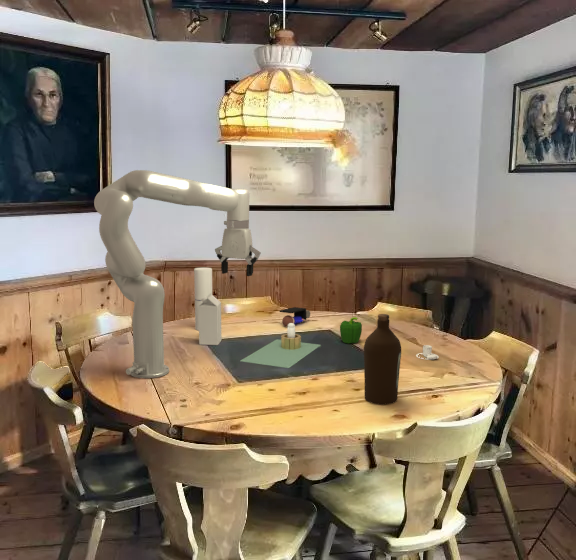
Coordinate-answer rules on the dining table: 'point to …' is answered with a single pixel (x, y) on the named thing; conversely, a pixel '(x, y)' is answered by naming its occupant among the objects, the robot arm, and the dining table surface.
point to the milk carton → (210, 321)
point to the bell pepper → (350, 331)
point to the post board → (281, 352)
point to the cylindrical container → (201, 289)
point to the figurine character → (295, 315)
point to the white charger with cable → (428, 353)
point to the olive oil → (382, 363)
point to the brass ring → (291, 342)
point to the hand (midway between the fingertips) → (237, 274)
